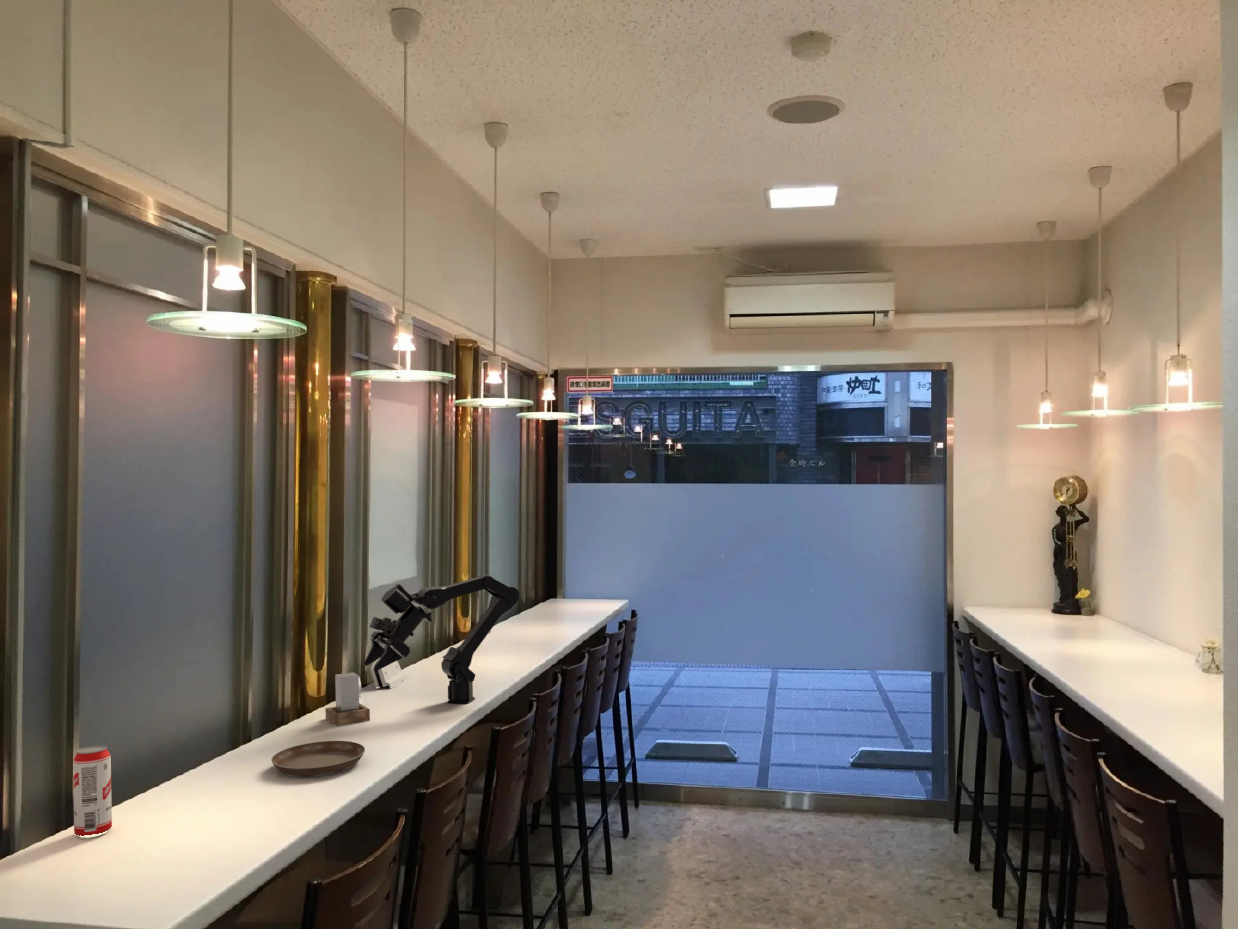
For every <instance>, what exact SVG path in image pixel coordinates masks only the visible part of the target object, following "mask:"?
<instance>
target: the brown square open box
mask: <svg viewBox="0 0 1238 929" xmlns="http://www.w3.org/2000/svg"><path fill="white" fill-rule="evenodd" d="M326 718H327V719H328V720H329V721H330V722H329V721H328V720H327V719H326ZM325 719H326V720H327V721H328V722H329V723H331V724H332V725H334V724H335V725H337V726H341V725H340V724H343V725H348V724H349V725H350V724H354V722H355V723H360V722H359V721H362V722H365V721H364V720H368V721H371V711H370V708H369V707H367V706H366V705H364V704H361V703H360V702H359V710H356V711H350V712H343V713H336V706H330V707H325ZM335 725H334V726H335Z"/></svg>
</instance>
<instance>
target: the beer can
mask: <svg viewBox="0 0 1238 929" xmlns="http://www.w3.org/2000/svg"><path fill="white" fill-rule="evenodd" d="M75 752H76V754H75V755H74V757H73V762H72V765H73V766H72V767H73V768H72V772H73V775H72V777H73V778H72V779H73V780H72V782H73V783H72V784H73V831H74V835H75V834H76V835H79V836H80V835H81V836H84V835H92V834H99V833H103V832H105V831H107V830H108V829H110V830H111V829H112V827H113V821H112V820H113V819H112V818H113V816H112V814H113V812H112V811H113V810H112V808H113V807H112V805H113V804H112V766H111V764H112V759H111V758H112V757H111V754H110V752H109V750H108V746H107V745H104V744H95V745H90V746H89V745H88V746H84V747H80V748H78V749H76V751H75ZM76 835H75V836H76Z"/></svg>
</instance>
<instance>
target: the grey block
mask: <svg viewBox="0 0 1238 929" xmlns="http://www.w3.org/2000/svg"><path fill="white" fill-rule="evenodd" d="M334 675H335V676H334V678H335V679H334V680H335V681H334V682H335V684H334V685H335V707H336V713H343V712H350V711H356V710H359V703H360V687H359V686H360V685H359V682H360V680H359V677H360V676H359V674H358V673H356V672H353V671H351V672H345V673H338V674H334Z"/></svg>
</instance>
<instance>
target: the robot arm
mask: <svg viewBox="0 0 1238 929" xmlns="http://www.w3.org/2000/svg"><path fill="white" fill-rule="evenodd" d="M483 590H484V591H486V592H487V594H489V595H490V596H491V597H490V599H489V604H488V607H487V609H486V610H485V612H484V613H483V614H482V616H481V617H480V618H479V619H478V621H477V623H476V624H475V625H473V628H472V629H471V630H470V632H469V633H468V635H467V636H466V637H465V638H464V640H463V641H462V642H461V644H459V646H456V647H453V646H451V647H449V648H448V650H447V652H446V654H445V655H443V656H442V661H441V665H440V666H441V670H442V672H443V673H444V674H445V675H446V676H447V679H448V680H449V681H448V685H447V704H470V703H471V702H472V701H474V700H475V699H476V697H475V696H474V687H473V686H474V685H473V682H474V681H475V677H476V673H474V671H472V670H471V669H470V666H471V664H472V660H473V656H474V653H475V652H476V650H477V649H478V648H479V647H480V645H482V643H483V641H484V640H485V639H486V637H487V636H488V635H489V633H490V632H491V630H492V629H493V627H494V626H495V625H496V623H497V622H498V621H499V619H500V618H501V617H502V616H503V615H505V614H506V613H507V612H509V611H511V610H512V609H513V608H514V607H515V606H516V605H517V604H518V603H519V601H520V592H519V589H517V588H516V587H513V586H510V585H506V584H504V583H503V582H501V581H499V580H497V579H495V578H494V577H492V575H489V574H488V575H487V574H481V575H479V576H476V577H473V578H470V579H466V580H463V581H462V580H461V581H458V582H456V583H453V584H449V585H443V586H431V587H423V588H421V589H419V590H418V592H415V593H409V592H408V591H407V590H406V589H404V586H402V584H399V583H397V584H395V586H393V587H391V588H390V589H389V590H387V591H386V592H385V593H384V594H383V595H382V597H381V600H380V601H381V602H382V603H383V604H384V605H385V606H386V607H387V608H389V609H390V610H391V611H392V612H393V613H394V614H395V615H396V614H399V613H400V615H399V617H398V619H391V618H389V617H385V616H384V617H383V618H379V617H376V616H373V618H372V619H371V622H370V624H369V628H371V629H374V631H373V633H372V634H371V635H370V643H371V646H370V649H369V652H368V654H367V655H366V658H365V660H364V662H363V665H364V666H366V667H368V666H369V665H372V664H373V663H374V662H375V661H377V660H378V659H379V661H378V662H377V664H376V665H375V667H374V669H375V670H376V671H378V670H380V669H382V668H384V667H385V666H387V665H389V664H391V663H393V662H396V661H398V662H399V661H400V660H403V658H405V659H406V658H407V657H408V655H410V653H411V648H410V646H408V645H407V644H406V643H405V642H407V640H408V639H409V638H410V637H413V636H414V635H415V633H414V631H415V630H416V629H417V628H418V627H419V626H420V625H421V624H422V622H423V621H425V622H430V623H431V622H432V612H431V611H426V610H424V609H423V608H425V609H427V610H433V609H434V610H435V609H437V608H439V607H441V606H443V605H445V604H446V603H447V602H448V601H450V600H452V599H456V598H458V597H459V598H460V597H463V596H466V595H468V594H473V593H476V592H480V591H483ZM413 603H414V604H413ZM415 604H418V606H416V605H415Z"/></svg>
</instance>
